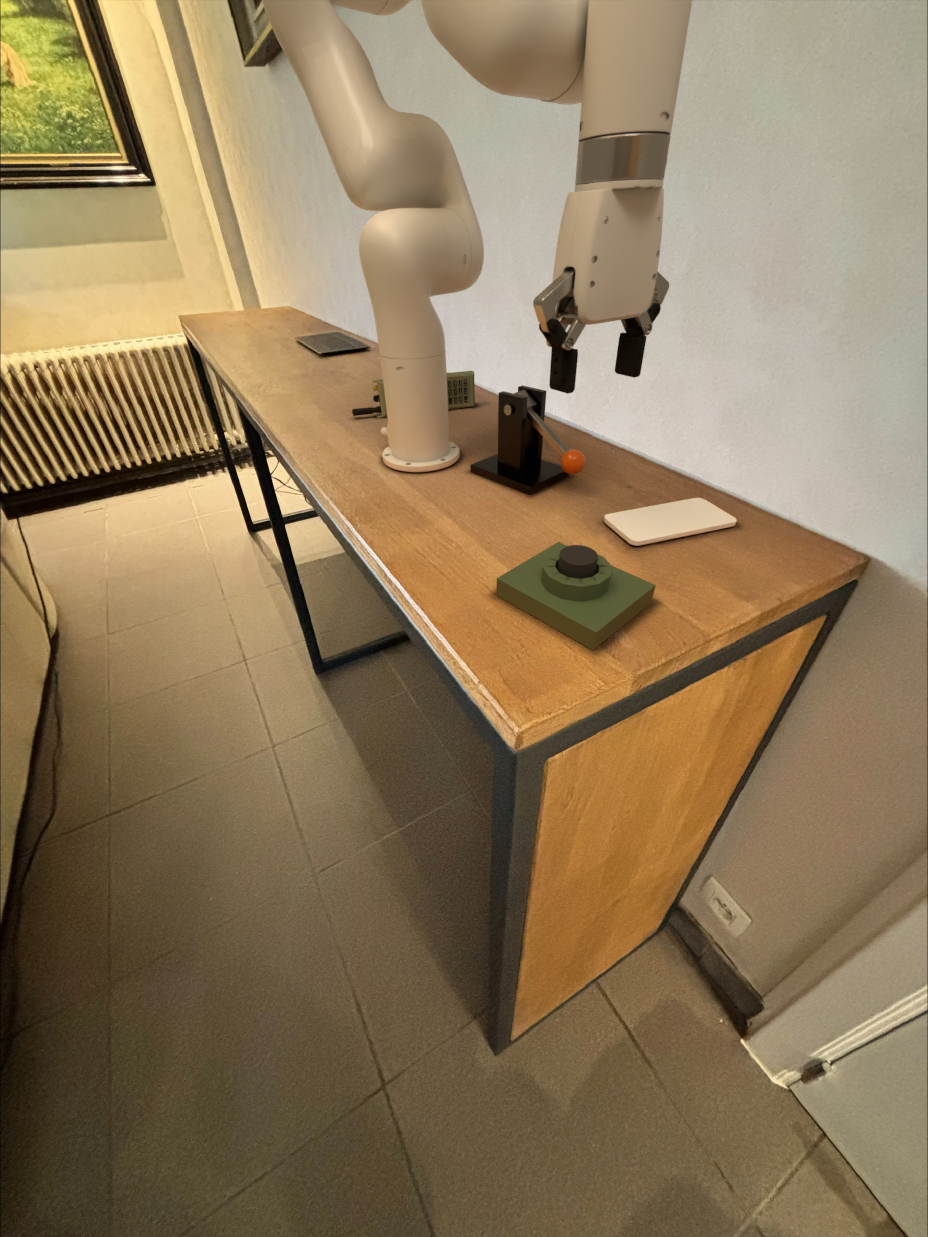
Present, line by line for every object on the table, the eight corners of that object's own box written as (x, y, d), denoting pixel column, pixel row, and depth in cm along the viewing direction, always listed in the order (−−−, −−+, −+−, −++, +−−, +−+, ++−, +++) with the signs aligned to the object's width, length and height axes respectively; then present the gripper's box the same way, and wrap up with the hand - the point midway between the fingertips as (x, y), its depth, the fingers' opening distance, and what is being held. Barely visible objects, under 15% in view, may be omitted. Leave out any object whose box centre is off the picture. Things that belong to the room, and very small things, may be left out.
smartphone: (740, 521, 61) (634, 542, 57) (738, 526, 61) (633, 548, 58) (700, 496, 66) (601, 514, 63) (698, 501, 67) (600, 520, 63)
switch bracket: (569, 476, 74) (578, 392, 67) (529, 495, 70) (534, 407, 62) (509, 455, 81) (512, 377, 74) (470, 472, 77) (468, 390, 69)
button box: (496, 595, 52) (496, 562, 49) (556, 558, 57) (559, 527, 54) (592, 650, 45) (599, 616, 42) (651, 602, 50) (660, 569, 47)
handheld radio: (476, 407, 102) (354, 421, 97) (471, 404, 105) (352, 417, 100) (475, 372, 98) (348, 384, 93) (470, 369, 101) (346, 381, 96)
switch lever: (581, 474, 69) (593, 458, 67) (567, 481, 68) (579, 465, 65) (518, 404, 72) (528, 386, 69) (503, 409, 70) (512, 391, 67)
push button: (550, 569, 49) (551, 554, 47) (572, 555, 50) (574, 540, 49) (580, 584, 46) (583, 569, 45) (602, 569, 48) (605, 554, 47)
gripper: (652, 173, 49) (624, 364, 60) (514, 173, 42) (510, 390, 52) (720, 165, 44) (677, 375, 55) (576, 163, 37) (558, 405, 47)
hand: (595, 382), depth 54 cm, fingers open, 9 cm apart
